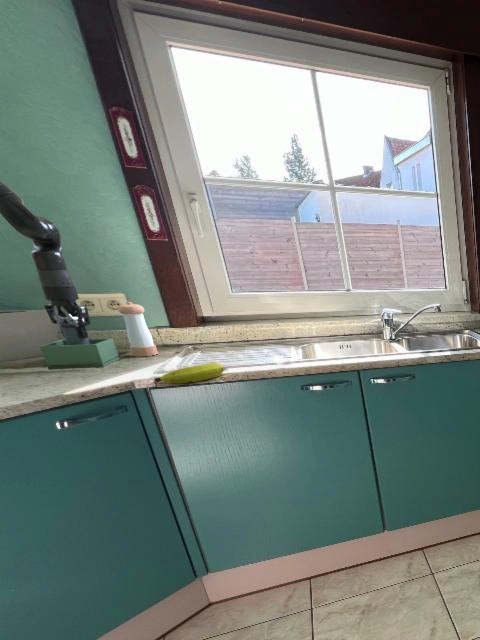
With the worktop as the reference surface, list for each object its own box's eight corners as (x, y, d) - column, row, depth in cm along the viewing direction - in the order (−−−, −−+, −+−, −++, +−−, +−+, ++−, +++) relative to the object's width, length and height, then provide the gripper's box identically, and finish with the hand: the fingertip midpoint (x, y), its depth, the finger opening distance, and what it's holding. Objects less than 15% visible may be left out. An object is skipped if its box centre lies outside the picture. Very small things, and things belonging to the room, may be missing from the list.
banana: (230, 359, 162) (182, 365, 161) (196, 366, 145) (143, 374, 144) (235, 372, 163) (188, 379, 162) (202, 381, 147) (149, 389, 146)
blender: (69, 365, 162) (55, 325, 158) (78, 361, 167) (64, 322, 163) (93, 364, 165) (79, 324, 160) (100, 360, 170) (87, 322, 165)
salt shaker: (139, 353, 185) (123, 300, 178) (162, 353, 187) (147, 301, 180) (127, 357, 179) (110, 302, 172) (151, 356, 180) (135, 303, 173)
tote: (48, 369, 158) (39, 346, 155) (68, 361, 169) (60, 339, 166) (103, 367, 163) (96, 344, 161) (119, 359, 175) (112, 338, 172)
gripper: (24, 284, 154) (45, 338, 161) (62, 286, 152) (81, 340, 159) (53, 283, 161) (71, 335, 167) (89, 284, 159) (106, 337, 165)
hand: (76, 337), depth 163 cm, fingers closed on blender, 5 cm apart
